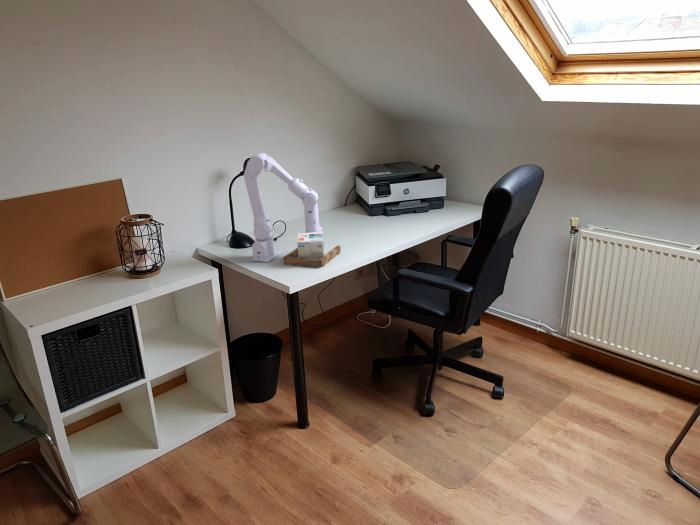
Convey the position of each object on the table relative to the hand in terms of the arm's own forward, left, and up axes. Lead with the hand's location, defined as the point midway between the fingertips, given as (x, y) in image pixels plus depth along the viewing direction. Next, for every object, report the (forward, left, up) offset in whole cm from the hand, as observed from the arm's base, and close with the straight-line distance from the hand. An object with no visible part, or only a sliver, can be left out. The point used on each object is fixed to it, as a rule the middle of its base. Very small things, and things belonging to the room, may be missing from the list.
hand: (314, 251), depth 244 cm
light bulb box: (-4, -1, -2) cm, 4 cm away
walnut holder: (-2, 0, -3) cm, 3 cm away
